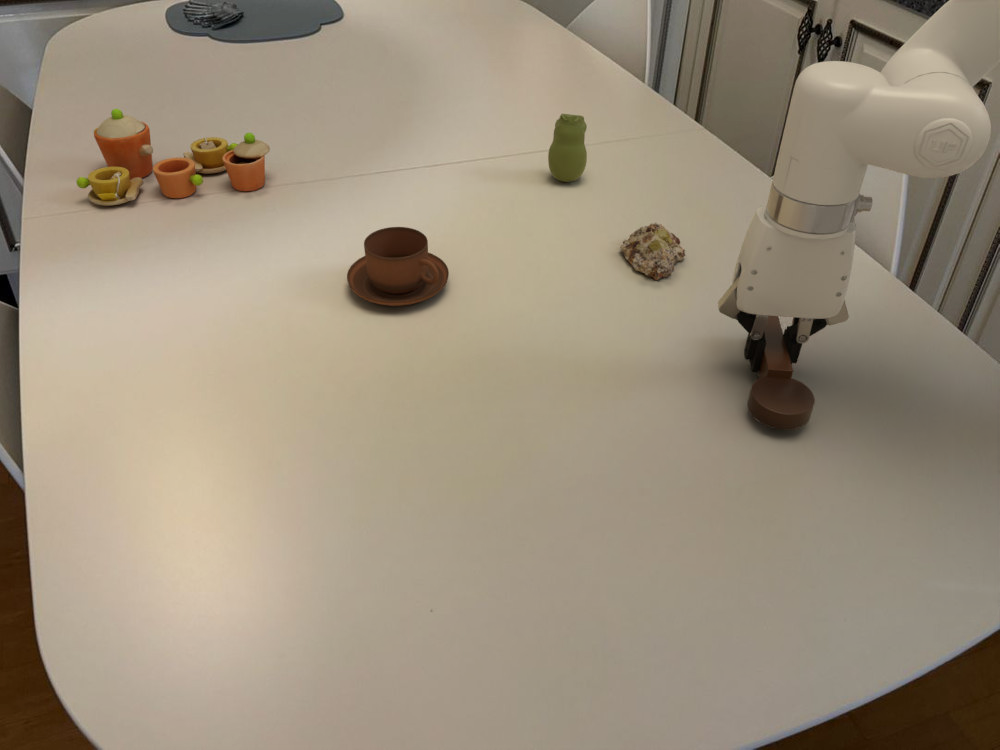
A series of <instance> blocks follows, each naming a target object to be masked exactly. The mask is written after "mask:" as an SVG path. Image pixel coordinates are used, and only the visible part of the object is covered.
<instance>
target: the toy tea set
mask: <svg viewBox="0 0 1000 750" xmlns="http://www.w3.org/2000/svg"><path fill="white" fill-rule="evenodd" d="M110 115H111V116H109V117H108V118H106V119H104V121H102V122H101V123H100V124H99V126H98V127H96V128H95V129H94V130H93V138H94V140H95V143H96V144H97V146H98V148H99V151H100V153H101V154H102V157H103V159H104V160H105V163H106V165H107V166H105V167H100V168H98V169H94V170H93V171H91V172H90V173H88V175H87V178H86V177H85V176H79V177H78V178H77V179H76V185H77V188H80V189H87V188H88V187H89V186H90V187H91V189H90V190H89V192H88V195H87V197H88V200H89V201H90V202H91V203H92V204H95V205H98V206H118V205H122V204H125V203H129V202H131V201H134V200H136V199H137V198H138V197H137V196H138V195H139V193H140V188H141V187H143V185H144V180H143V178H145V177H147V176H149V175H151V173H152V172H153V174H154V176H155V179H156V181H157V183H158V185H159V188H160V190H161V193H162V194H163V195H164V196H165V197H167V198H169V199H182V198H187V197H189V196H191V195H194V193H195V192H196V190H197V187H199V186H201V185H203V183H204V178H203V177H202V175H200V174H216V173H217V174H218V173H222V172H224V171H226V173H227V175H228V178H229V181H230V185H231V186H232V188H233V189H235V190H236V191H239V192H252V191H253V192H254V191H257V190H259V189H261V188H262V187H263V186H264V185H265V183H266V163H265V162H266V155H268V153H269V152H271V151H270V150H271V148H270V146H269V144H267V143H266V142H264V141H263V140H260V139H256V135H254V133H252V132H246V133H245V134H244V136H243V139H244V140H242V141H241V142H239V143H236V142H232V143H230V144H229V143H228V140H227V139H225V138H222V137H215V136H211V137H206V136H203V137H202V138H200V139H197V140H195V141H193V142H192V143H191V144H190V146H189V148H190V150H191V151H184V152H183V157H171V158H170V157H169V158H166V159H162V160H160V161H157V162H156V163H155V164H154V165H153V155H152V154H153V153H154V148H153V146H152V143H151V130H150V127H149V125H148V124H147V123H146V122H144V121H141V120H140V119H138V118H136V117H133V116H131V115H126V114H123V111H122V110H121V109H119V108H114V109H112V110H111V114H110ZM196 173H199V174H196Z"/></svg>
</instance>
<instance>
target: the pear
mask: <svg viewBox="0 0 1000 750" xmlns="http://www.w3.org/2000/svg"><path fill="white" fill-rule="evenodd" d="M586 131H587V123H586V122H585V118H584V116H583V115H579V114H576V115H575V114H569V113H561V114H560V116H559V117H558V119H557V120H556V121H555V124H554V129H553V135H552V136H553V138H552V142H551V144H550V146H549V149H548V153H547V155H548V156H547V161H548V168H549V171H550V173H551V175H552V176H553V177H554V178H555V179H556V180H558V181H560V182H563V183H564V182H565V183H570V182H574V181H576V180H578V179H579V178H581V176H583V174H584V172H585V169H586V167H587V162H588V161H587V159H588V154H587V153H588V152H587V148H586V146H585V145H586V144H585V139H586V135H585V134H586Z"/></svg>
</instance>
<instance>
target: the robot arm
mask: <svg viewBox="0 0 1000 750" xmlns="http://www.w3.org/2000/svg"><path fill="white" fill-rule="evenodd" d="M999 64H1000V0H948V1H947V2H945V3H944V4H943V5H942V6H941V7H939V9H938V10H937V11H935V12H934V14H932V15H931V16H930V17H928V19H927V20H926V21H925V22H924V24H922V25H921V26H920V27H919V28H918V29H917V30H916V31H915V32H914V33H913V34H912V35H911V36H910V37H909V38H908V39H907V40H906V41H905V42H904V43H903V44H902V45H901V47H899V48H898V49H897V50H896V51H895V53H894V54H893V55H892V56H891V57H890V59H889V60H888V61H887V62H886V64H885V65H884V66H883V68H881V71H879V70H876V69H874V68H872V67H870V66H867V65H864V64H861V63H856V62H853V61H852V62H851V61H844V60H828V61H820V62H815V63H812V64H810V65H808V66H807V67H805V68H804V69H803V70H802V71H801V72H800V73H799V75H798V76H797V78H796V80H795V83H794V86H793V90H792V94H791V99H790V103H789V107H788V110H787V111H788V112H787V115H786V120H785V125H784V129H783V133H782V138H781V142H780V146H779V150H778V155H777V159H776V162H775V167H774V173H773V177H772V181H771V186H770V189H769V194H768V198H767V202H766V205H760V206H759V207H758V208H756V210H755V213H754V214H753V216H752V218H751V221H750V223H749V226H748V228H747V231H746V233H745V236H744V238H743V241H742V243H741V248H740V251H739V254H738V257H737V261H736V264H735V267H734V271H733V276H732V281H731V282H732V283H731V285H730V286H729V287H728V289H727V290H726V291H725V292H724V294H723V295H722V296H721V297H720V298H719V300H718V301H717V307H718V311H719V313H721V314H723V315H724V316H726V317H728V318H730V319H732V320H736V321H737V322H738V324H740V326H741V327H742V328H743V329H744V330H745V331H746V332H747V337H746V341H745V345H744V350H743V357H744V360H745V361H748V362H749V366H750V367H749V368H750V371H751V372H752V373H758V371H759V368H760V365H761V361H762V357H763V353H764V350H765V346H766V339H765V332H764V330H765V327H766V324H767V321H768V317H769V316H778V317H785V318H792V321H791V325H788V326H786V328H784V331H783V336H784V340H785V343H786V347H787V351H788V353H789V357H790V361H791V364H792V365H793V364H797V363H798V361H799V357H800V353H801V350H802V347H803V344H806V343H807V342H808V341H809V340H810V337H812V336H813V335H815V334H816V333H819V332H820V331H822V330H824V329H825V328H826V327H827V326H832V325H837V324H840V323H844V322H847V321H848V320H849V318H850V315H849V312H848V308H847V304H846V300H845V299H846V295H847V291H848V287H849V282H850V278H851V274H852V269H853V268H852V267H853V262H854V261H853V260H854V256H855V255H854V254H855V247H856V236H857V223H856V220H855V217H856V215H857V214H858V213H859V214H860V213H862V212H870V211H871V210H872V207H873V197H872V196H865V195H864V194H860V193H861V189H862V186H863V182H864V179H865V176H866V172H867V170H868V166H874V167H877V168H881V169H885V170H888V171H892V172H896V173H899V174H903V175H907V176H911V177H916V178H921V179H940V178H948V177H952V176H956V175H958V174H960V173H962V172H964V171H966V170H967V169H969V168H970V167H972V166H973V165H974V164H975V163H977V161H979V160H980V158H981V157H982V156H983V154H984V153H985V151H986V150H987V147H988V145H989V142H990V140H991V139H990V138H991V132H992V128H991V127H992V125H991V119H990V116H989V112H988V110H987V108H986V106H985V104H984V102H983V101H982V99H981V98H980V97H979V96H978V94H977V92H976V91H975V88H974V86H976V85H977V83H979V82H980V81H981V80H982V79H983V78H984V77H985V76H987V74H989V73H990V72H991V71H992V70H993V69H995V67H996V66H998V65H999Z"/></svg>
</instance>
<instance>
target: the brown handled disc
mask: <svg viewBox="0 0 1000 750" xmlns="http://www.w3.org/2000/svg"><path fill="white" fill-rule="evenodd" d="M779 317H780V316H769V317H768V321H767V324H766V327H765V330H764V332H765V339H766V346H765V350H764V353H763V357H762V361H761V365H760V368H759V371H757V373H758V378H757V379H756V380H755V381H754V382H753V383H752V384H751V387H750V391H749V395H748V399H747V405H746V406H747V410H748V412H749V414H750V415H751V416H752V417H753V418H754V419H755V420H756V421H757V422H759V423H760V424H762V425H764V426H767V427H769V428H772V429H777V430H782V431H784V430H785V431H790V430H797V429H800V428H802V427H804V426H805V425H807V424H808V423H809V421H810V419H811V416H812V412H813V409H814V406H815V403H816V399H815V395H814V392H813V391H812V390H811V388H809V386H807V385H806V384H805V383H804V382H802V381H800V380H797V379H795V378H793V374H794V368H793V363H792V364H791V361H790V357H789V353H788V351H787V347H786V343H785V340H784V336H783V334H784V331H783V329H782V325H781V321H780V318H779Z"/></svg>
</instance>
